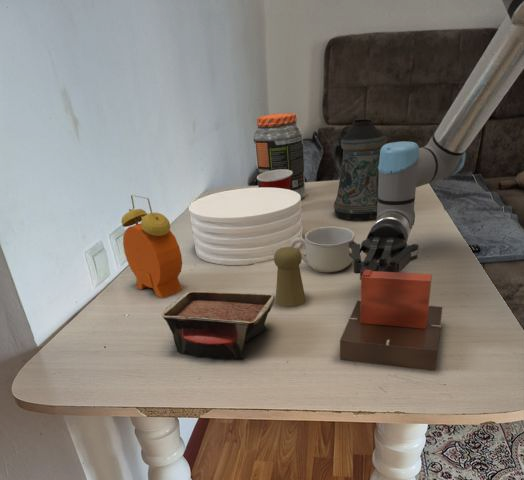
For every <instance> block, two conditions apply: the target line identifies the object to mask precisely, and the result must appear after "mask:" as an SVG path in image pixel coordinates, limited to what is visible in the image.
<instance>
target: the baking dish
mask: <svg viewBox="0 0 524 480" xmlns="http://www.w3.org/2000/svg"><path fill="white" fill-rule="evenodd" d="M274 301H275V295H274V293H255V292H253V293H252V292H231V291H229V292H228V291H205V290H204V291H201V290H200V291H199V290H192V291H187V292H186V293H184V294H182V295H181V296H180V297H178V298H176V300H174V301H173V302H172V303H170V304H169V306H167V307H165V310H164V311H163V312H162V313H161V317H162V318H163V319H164V320H165V322H166V323H167V325H168V327H169V330H170V332H171V334H172V337H173V340H174V345H175V348H176V353H178V354H179V355H184V356H190V357H195V358H200V359H201V358H203V359H213V360H236V361H237V360H238V361H239V360H243V358H244V347H245V343H246V342H248V341H249V340H251V339H253V338H254V337H257V336H258V335H259V334H260V333H262V332H264V331H266V330H267V326H266V325H265V324H266V321H267V317H268V315H269V313H270V312H271V310H272V307H273V305H274Z"/></svg>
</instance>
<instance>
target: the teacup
mask: <svg viewBox="0 0 524 480" xmlns="http://www.w3.org/2000/svg"><path fill="white" fill-rule="evenodd" d="M355 237H356V233H354V231H353V230H351V229H349V228H346V227H342V226H335V225H334V226H332V225H331V226H320V227H316V228H312V229H311V230H308V231H307V232H306V233H305V235H304V237H303V238H301V237H296V238H294V239H293V240H292V241H291V243H290V247H294V245H295V243H297V242H300V243H302V244H301V245H302V246H303V248H304V249H305V254H303V253H301V256H302V261H303V262H304V263H305V264H306V263H307V264H308V265H309V266H310V267H311V268H312V269H314V270H315V271H317V272H319V273H327V274H328V273H329V274H330V273H331V274H332V273H337V272H341V271H343V270H344V269H346V268H347V267H349V266H350V264H352V262H353V260H352V258H351V257H350V256H349V242H355Z"/></svg>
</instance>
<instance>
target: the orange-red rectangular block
mask: <svg viewBox="0 0 524 480" xmlns="http://www.w3.org/2000/svg"><path fill="white" fill-rule="evenodd" d="M432 278H433V274H432V273H418V272H417V273H416V272H399V273H398V272H379V271H372V270H365V271H364V272H363V275H362V277H361V280H360V301H361V316H360V323H364V324H375V325H386V326H398V327H409V328H420V329H426V326H427V319H428V309H429V306H430V298H431V288H432V287H431V286H432Z"/></svg>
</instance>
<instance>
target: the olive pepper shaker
mask: <svg viewBox="0 0 524 480" xmlns="http://www.w3.org/2000/svg"><path fill="white" fill-rule="evenodd" d="M301 254H302V252H301V250H300V249H299V248H298V249H297V248H295V247H283V248H280V249H278V250H277V251H276V252H275V254H274V259H273V263H274V265H275V266H276V267H277V268H276V269H277V270H276V271H277V273H276V287H275V288H276V289H275V290H276V291H275V304H276V305H277V306H279V307H281V308H282V307H283V308H296V307H300V306H302V305H303V304H305V302H306V300H307V299H306V295H305V290H304V284H303V279H302V274H301V268H300V265H301V263H302V261H303V259H302V256H301Z"/></svg>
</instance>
